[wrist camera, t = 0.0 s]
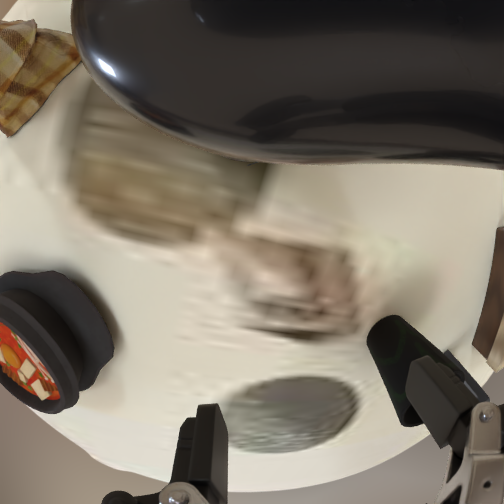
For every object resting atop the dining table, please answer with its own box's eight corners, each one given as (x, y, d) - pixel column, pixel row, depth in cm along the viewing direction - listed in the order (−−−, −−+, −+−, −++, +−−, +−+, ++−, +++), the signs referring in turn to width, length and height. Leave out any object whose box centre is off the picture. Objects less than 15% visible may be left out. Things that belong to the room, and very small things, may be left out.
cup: (391, 296, 28) (451, 361, 17) (421, 323, 30) (473, 381, 19) (346, 345, 30) (386, 422, 19) (381, 365, 32) (420, 431, 20)
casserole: (60, 225, 23) (9, 251, 16) (150, 363, 29) (133, 416, 21) (-21, 301, 26) (-52, 327, 18) (45, 392, 32) (25, 426, 24)
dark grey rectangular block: (420, 372, 33) (457, 425, 22) (447, 347, 32) (489, 396, 21) (425, 379, 34) (460, 430, 23) (451, 356, 33) (490, 403, 22)
